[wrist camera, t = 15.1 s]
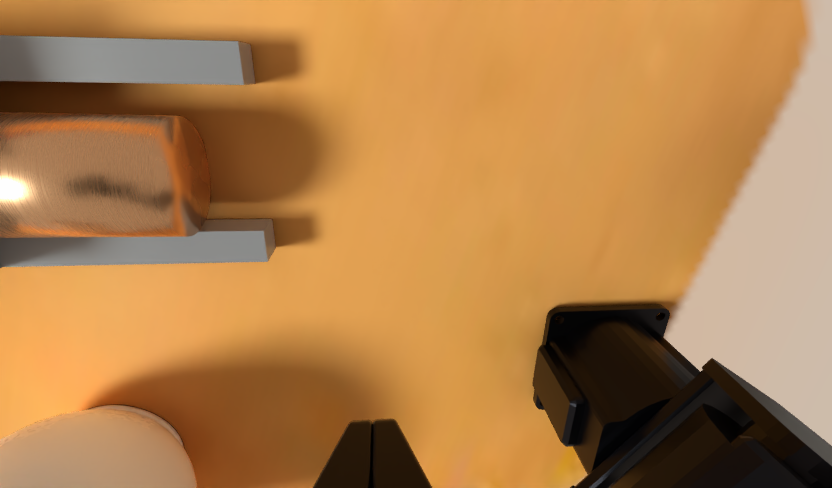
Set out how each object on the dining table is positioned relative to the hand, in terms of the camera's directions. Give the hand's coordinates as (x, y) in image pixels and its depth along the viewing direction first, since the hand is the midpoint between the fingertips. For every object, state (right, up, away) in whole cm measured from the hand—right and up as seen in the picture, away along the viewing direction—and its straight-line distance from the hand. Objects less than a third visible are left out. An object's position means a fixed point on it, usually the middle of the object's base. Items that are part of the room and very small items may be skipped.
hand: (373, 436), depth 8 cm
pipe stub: (-12, +6, +9) cm, 16 cm away
